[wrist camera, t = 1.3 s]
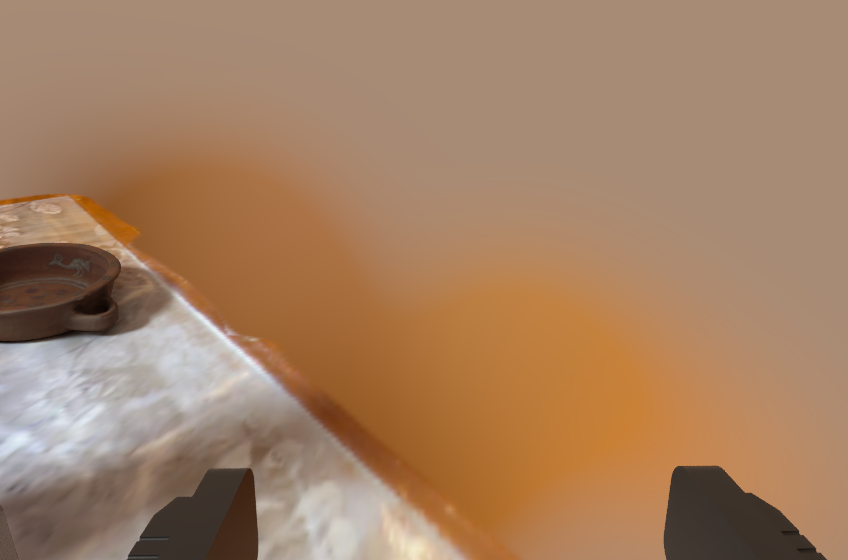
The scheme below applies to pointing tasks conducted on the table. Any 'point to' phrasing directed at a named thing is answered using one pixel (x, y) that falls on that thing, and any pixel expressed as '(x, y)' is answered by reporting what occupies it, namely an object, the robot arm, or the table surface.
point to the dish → (55, 290)
